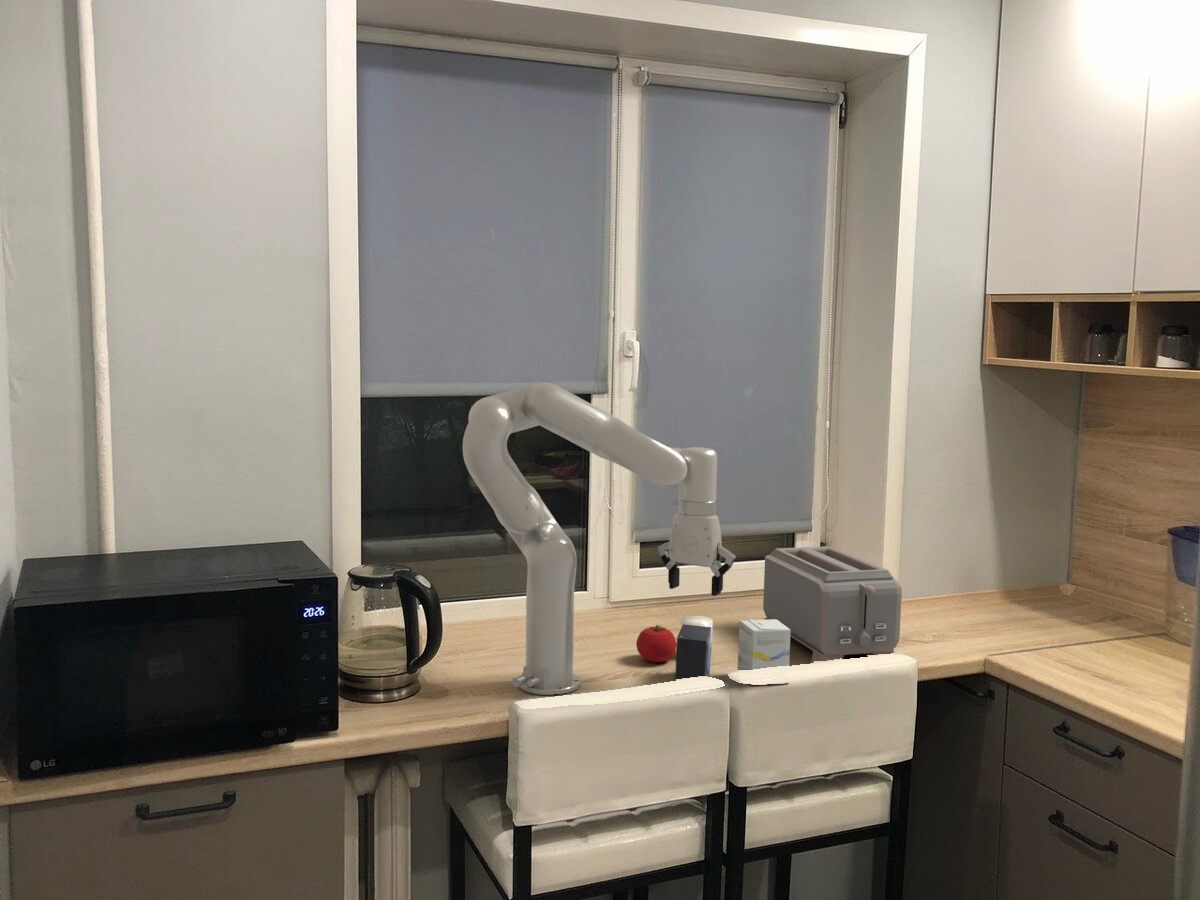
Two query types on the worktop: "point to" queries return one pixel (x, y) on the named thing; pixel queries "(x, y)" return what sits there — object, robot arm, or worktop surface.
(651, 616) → the worktop surface
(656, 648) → the tomato
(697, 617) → the white capsule cylinder
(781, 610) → the toaster
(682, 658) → the small box
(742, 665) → the ink box
